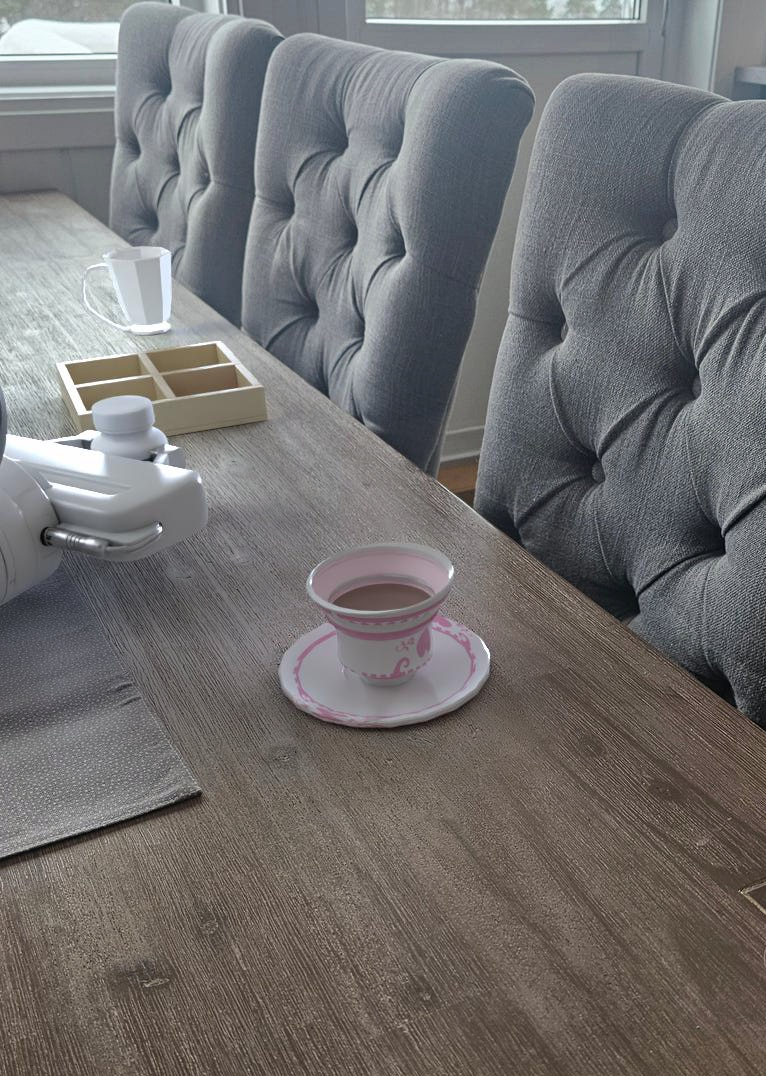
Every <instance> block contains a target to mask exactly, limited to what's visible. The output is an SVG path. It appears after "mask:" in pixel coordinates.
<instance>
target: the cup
mask: <svg viewBox="0 0 766 1076" xmlns="http://www.w3.org/2000/svg"><path fill="white" fill-rule="evenodd" d="M102 257H103V261H104V263H99V264H94V265H91V266H89V267H88V268H87V269H86V271H85V272H84V274H83V275H82V277H81V284H80V294H81V302H82V303H83V305H84V307H85V309H86V311H88V312H89V314H91V316H93V317H94V318H95V319H97V320H99V321H100V322H102V323H104V324H105V325H107V326H109V327H111V328H112V329H115V330H118V331H120V332H123V333H132V334H133V335H136V336H137V335H138V336H153V335H158V334H164V333H166V332H167V331H170V330H171V329H172V328H171V327H172V326H171V324H170V323H168V322H167V321H168V320H169V319H170V318H171V311H172V298H173V295H172V291H173V290H172V289H173V288H172V252H171V250H168V249H166V248H165V247H163V246H146V245H139V246H132V247H124V248H116V249H113V250H112V251H110V252H108V253H106V254H103V255H102ZM93 271H100V272H106V273H108V275H109V277H110V280H111V283H112V287H113V289H114V292H115V296H116V299H117V301H118V303H119V306H120V308H121V310H122V312H123V315H124V317H125V319H126V321H128V322H129V323H130V324H132V325H131V326H124V325H120V324H118V323H115V322H114V321H111V320H109V318H106V317H104V316H103V315H101V314H100V313H98V312H97V311H96V310H95V309H93V308H92V307H91V306H90V303H89V302H88V300H87V297H86V279H87V277H88V276H89V274H90V273H91V272H93Z"/></svg>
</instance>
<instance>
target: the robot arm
mask: <svg viewBox="0 0 766 1076" xmlns="http://www.w3.org/2000/svg"><path fill="white" fill-rule="evenodd" d="M7 411H8V410H7V403H6V398H5V395H4V391H3V387H2V385H1V384H0V607H1V606H3V605H5V604H7V603H8V602H10V601H11V600H14V599H15V598H17V597H18V596H20V595H22V594H24V593H25V592H27V591H28V590H30V589H32V588H33V587H35V586H36V585H39V584H40V583H42V582H44V581H46V580H47V579H49V578H50V577H51V576H53V575H54V574H55V573H56V571H57V570H58V568H59V566H60V564H61V561H62V558H63V551H67V552H71V553H75V554H79V555H84V556H88V557H92V558H96V559H99V560H105V561H108V562H115V563H129V562H135V561H139V560H142V559H147V558H148V557H152V556H154V555H156V554H158V553H160V552H162V551H164V550H167V549H169V548H171V547H173V546H175V545H177V544H179V543H182V542H183V541H185V540H187V539H188V538H191V537H193V536H194V535H196V534H197V533H200V532H201V531H202V530H204V529H205V528H206V527H207V525H208V522H209V508H208V499H207V494H206V489H205V486H204V482H203V478H202V476H201V474H200V473H199V472H197V471H195V470H192V469H187V462H186V460H187V459H186V455H185V449H184V448H183V447H181V446H175V445H164V444H163V445H161V446H160V447H159V448H155V449H153V450H151V451H150V456H151V461H152V463H151V462H149V461H140V460H135V459H130V458H125V457H120V456H115V455H110V454H104V453H99V452H94V451H91V443H92V441H93V439H94V438H95V437H96V436H97V435H98V434H100V432H95V431H89V430H88V431H86V432H84V433H82V434H80V435H79V434H77V435H76V436H68V437H62V438H61V437H60V438H54V439H46V440H43V441H42V440H38V439H33V438H28V437H22V436H18V435H17V436H16V435H13V434H8V427H9V426H8V424H9V423H8V412H7Z"/></svg>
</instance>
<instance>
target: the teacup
mask: <svg viewBox="0 0 766 1076" xmlns="http://www.w3.org/2000/svg"><path fill="white" fill-rule="evenodd" d="M454 569H455V568H454V566H453V564H452V562H451V560H450V559H449V558H448V557H447V555H445V554H444V553H443V552H442V551H440V550H438V549H436V548H434V547H431V546H428V545H426V544H421V543H420V544H419V543H415V542H410V541H409V542H408V541H382V542H373V543H367V544H362V545H358V546H354V547H351V548H347V549H344V550H343V551H339V552H338V553H336V554H333V555H331V556H329V557H328V558H326V559H325V560H323V561H322V562H320V563H319V564H317V566H316V567H315V568H314V569H313V570H312V571H311V572H310V573H309V575H308V577H307V579H306V583H305V590H306V593H307V595H308V596H309V598H310V599H311V600H312V601H313V603H314V604H315V605H316V606H317V607H318V608H319V609H320V610H321V611H322V612H324V617H325V619H326V620H327V622H325V623H322V624H320V625H319V626H317V627H315V628H313V629H312V630H310V631H308V632H306V633H304V634H303V635H301V636H299V637H298V638H297V639H296V641H294V642H293V643H292V644H291V646H289V648H288V649H286V650H285V651H284V653H283V655H282V658H281V660H280V663H279V667H278V670H277V673H278V679H279V683H280V686H281V691H282V693H283V695H284V696H286V698H287V699H288V700H289V701H290V702H291V704H293V705H294V706H295V707H296V708H297V709H298V710H300V711H303V712H304V713H306V714H308V715H310V716H313V717H315V718H317V719H318V720H321V721H323V722H327V723H332V724H337V725H342V726H347V727H351V728H396V727H401V726H407V725H413V724H419V723H424V722H429V721H430V720H433V719H435V718H438V717H440V716H444V715H445V714H448V713H451V712H453V711H456V710H457V709H459V708H460V707H461V706H463V705H464V704H466V703H468V702H469V701H470V700H471V699H473V698H474V697H475V696H478V695H479V693H480V691H481V689H482V688H483V686H484V685H485V683H486V682H487V680H488V679H489V677H490V668H491V653H490V652H489V649H488V648H487V646H486V644H485V642H484V640H483V639H482V637H481V636H479V635H478V634H477V633H475V632H474V631H472V630H471V629H470V628H468V627H467V626H466V625H465V624H463V623H459V622H457V621H455V620H452V619H449V618H447V617H444V616H441V615H439V611H440V607H441V604H443V602H445V600H446V599H447V597H448V596H449V594H450V592H451V590H452V587H453V580H454V575H455V571H454Z"/></svg>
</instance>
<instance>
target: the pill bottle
mask: <svg viewBox="0 0 766 1076" xmlns="http://www.w3.org/2000/svg"><path fill="white" fill-rule="evenodd" d="M92 416H93V422H94V425H95V428H96V429H97V430H98V431H99V432H100V434H98V435H97V436H96V437H95V438H94V439H93V441H92V443H91V451H94V452H99V453H104V454H110V455H115V456H120V457H125V458H130V459H135V460H140V461H149V462H151V463H152V461H151V456H150V451H151V450H153V449H155V448H159V447H160V446H161V445H163V444H164V445H169V441H168V438H167V437H166V436H165V435H164V433H163V432H162V431H160V430H159V429H157V428H155V427H152V425H153V424H154V423H155V419H154V418H155V416H154V412H153V407H152V403H151V401H150V400H149V399H148V398H145V397H141V396H117V397H111V398H107V399H104V400H101V401H99V402H97V403H95V404H94V405H93V406H92Z"/></svg>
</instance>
